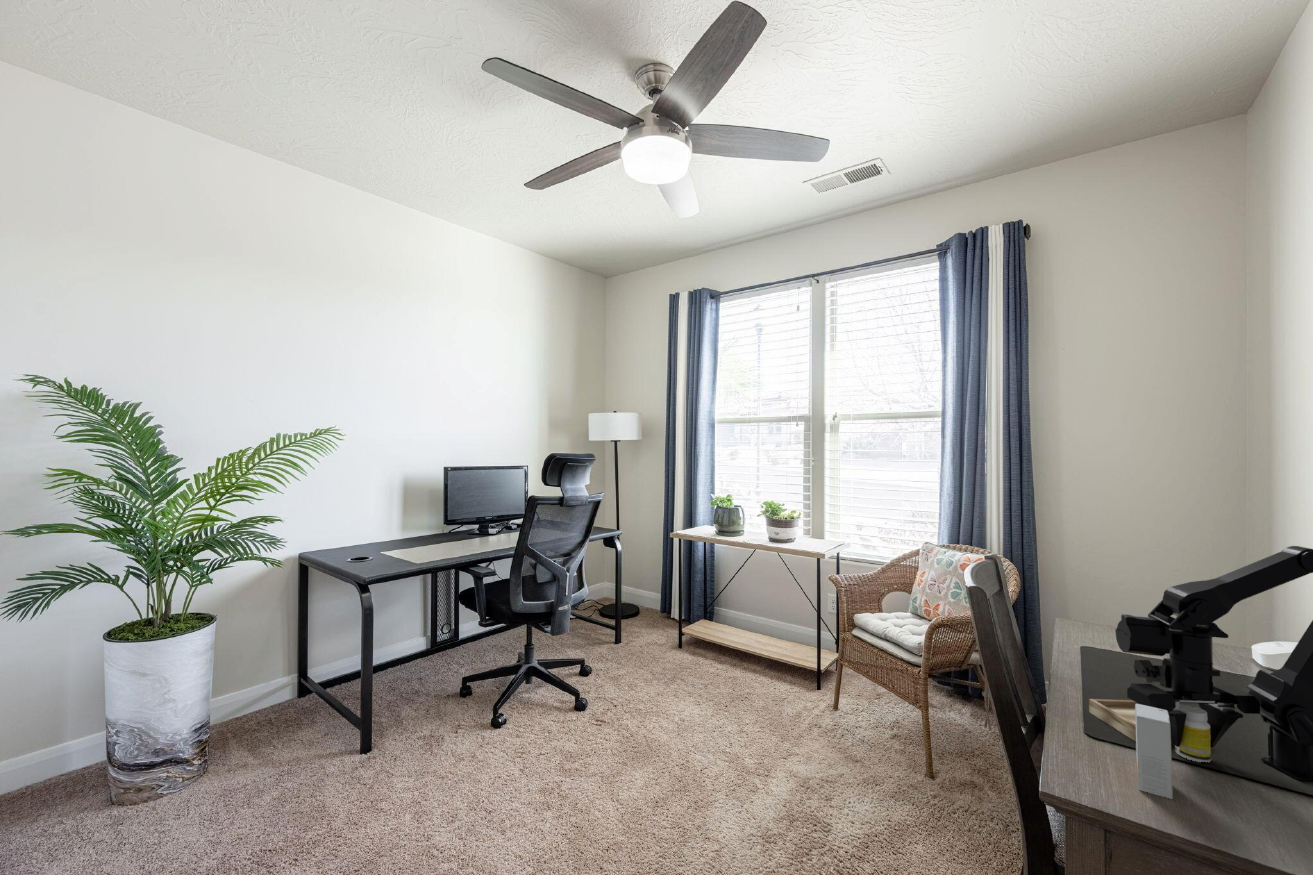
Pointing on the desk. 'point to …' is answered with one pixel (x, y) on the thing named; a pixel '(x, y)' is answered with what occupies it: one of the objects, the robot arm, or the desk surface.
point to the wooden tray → (1116, 714)
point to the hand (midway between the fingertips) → (1192, 746)
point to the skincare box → (1153, 750)
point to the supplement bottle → (1195, 735)
